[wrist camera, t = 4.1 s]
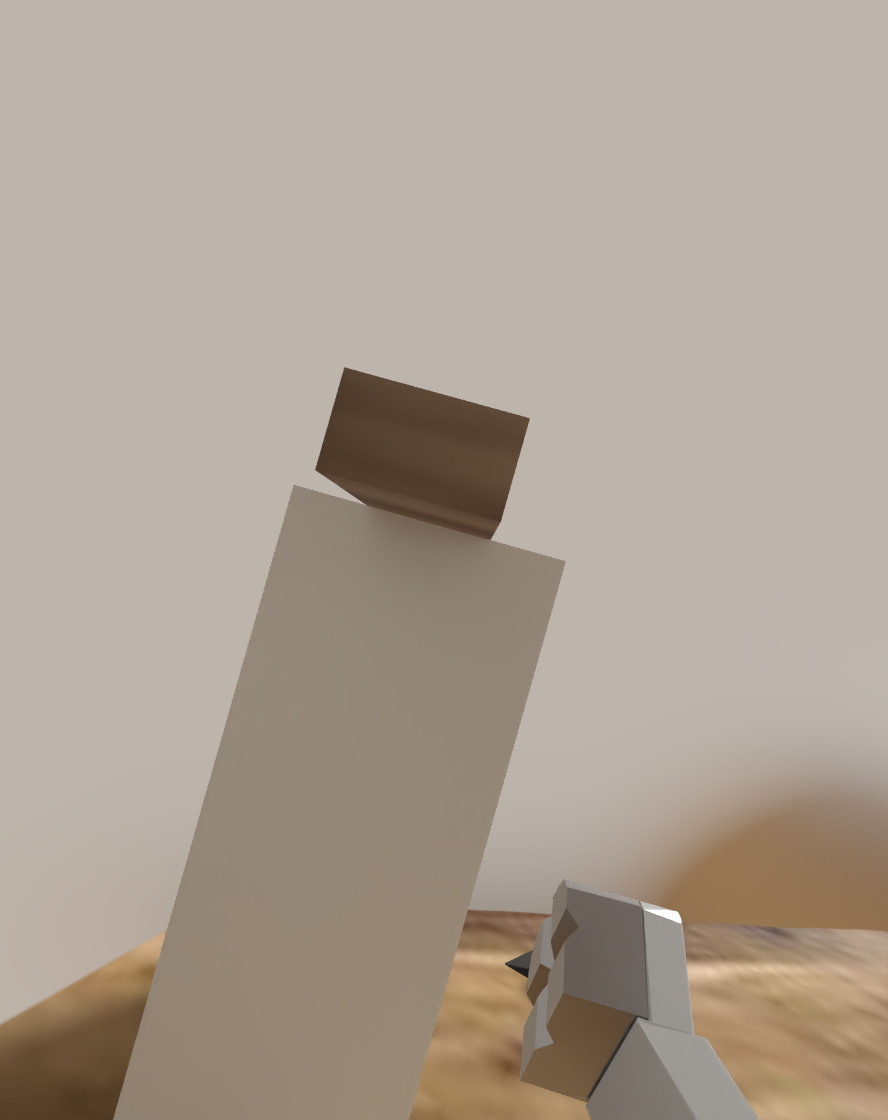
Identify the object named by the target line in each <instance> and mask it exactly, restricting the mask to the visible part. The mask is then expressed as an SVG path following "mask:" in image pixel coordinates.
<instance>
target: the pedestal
mask: <svg viewBox="0 0 888 1120" xmlns="http://www.w3.org/2000/svg"><path fill="white" fill-rule="evenodd" d="M564 566H565V561H563V560H559V559H556V558H552V557H549V556H545V555H541V554H538V553H534V552H531V551H527V550H523V549H520V548H516V547H513V546H509V545H506V544H502V543H498V542H495V541H491V540H488V539H484V538H481V537H477V536H474V535H470V534H467V533H463V532H459V531H456V530H452V529H449V528H445V527H442V526H438V525H434V524H431V523H427V522H424V521H420V520H417V519H413V518H410V517H406V516H402V515H399V514H395V513H392V512H388V511H385V510H381V509H377V508H374V507H370V506H367V505H363V504H359V503H356V502H352V501H349V500H345V499H342V498H338V497H335V496H331V495H327V494H324V493H320V492H317V491H313V490H310V489H306V488H303V487H299V486H296V485H294V486H293V489H292V492H291V496H290V500H289V503H288V507H287V510H286V514H285V517H284V521H283V524H282V528H281V531H280V535H279V539H278V542H277V545H276V549H275V552H274V556H273V559H272V563H271V567H270V570H269V573H268V577H267V580H266V584H265V587H264V591H263V594H262V598H261V602H260V605H259V609H258V612H257V615H256V619H255V623H254V626H253V630H252V633H251V637H250V640H249V644H248V647H247V651H246V654H245V658H244V661H243V665H242V668H241V672H240V675H239V679H238V682H237V686H236V690H235V693H234V696H233V700H232V704H231V707H230V710H229V714H228V718H227V721H226V724H225V728H224V732H223V735H222V738H221V742H220V746H219V749H218V753H217V756H216V760H215V763H214V767H213V770H212V774H211V778H210V781H209V784H208V788H207V791H206V795H205V798H204V802H203V806H202V809H201V812H200V816H199V820H198V823H197V827H196V830H195V833H194V837H193V841H192V844H191V847H190V851H189V854H188V858H187V861H186V865H185V869H184V872H183V876H182V879H181V883H180V886H179V890H178V893H177V897H176V900H175V904H174V907H173V911H172V914H171V918H170V922H169V925H168V928H167V932H166V935H165V939H164V942H163V946H162V949H161V953H160V956H159V960H158V963H157V967H156V970H155V974H154V977H153V981H152V985H151V988H150V992H149V995H148V999H147V1002H146V1006H145V1009H144V1013H143V1016H142V1020H141V1023H140V1027H139V1030H138V1034H137V1037H136V1041H135V1044H134V1048H133V1051H132V1055H131V1058H130V1062H129V1065H128V1069H127V1072H126V1076H125V1079H124V1083H123V1086H122V1090H121V1093H120V1097H119V1100H118V1104H117V1108H116V1111H115V1115H114V1118H113V1120H409V1117H410V1114H411V1110H412V1106H413V1103H414V1099H415V1096H416V1092H417V1089H418V1085H419V1082H420V1078H421V1074H422V1071H423V1067H424V1064H425V1060H426V1057H427V1053H428V1050H429V1046H430V1042H431V1039H432V1035H433V1032H434V1028H435V1025H436V1021H437V1018H438V1014H439V1010H440V1007H441V1003H442V1000H443V996H444V993H445V989H446V986H447V982H448V978H449V975H450V971H451V968H452V964H453V961H454V957H455V954H456V950H457V946H458V943H459V939H460V936H461V932H462V929H463V925H464V921H465V918H466V914H467V911H468V907H469V904H470V900H471V897H472V893H473V889H474V886H475V882H476V879H477V875H478V871H479V868H480V865H481V861H482V857H483V854H484V850H485V847H486V843H487V839H488V836H489V833H490V829H491V825H492V822H493V818H494V815H495V811H496V807H497V804H498V801H499V797H500V793H501V790H502V786H503V783H504V779H505V776H506V772H507V769H508V765H509V761H510V758H511V754H512V750H513V747H514V744H515V740H516V736H517V733H518V729H519V726H520V722H521V719H522V715H523V712H524V708H525V704H526V700H527V697H528V694H529V690H530V687H531V683H532V679H533V676H534V672H535V669H536V665H537V662H538V658H539V655H540V651H541V647H542V644H543V640H544V637H545V633H546V630H547V626H548V623H549V619H550V616H551V612H552V608H553V605H554V601H555V598H556V594H557V591H558V587H559V583H560V580H561V576H562V573H563V569H564Z"/></svg>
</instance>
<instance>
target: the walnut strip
mask: <svg viewBox="0 0 888 1120" xmlns="http://www.w3.org/2000/svg"><path fill="white" fill-rule="evenodd" d="M528 423H529V418H526V417H523V416H519V415H516V414H512V413H508V412H505V411H501V410H498V409H494V408H490V407H487V406H483V405H479V404H476V403H472V402H468V401H465V400H461V399H457V398H454V397H450V396H447V395H443V394H439V393H436V392H432V391H428V390H425V389H421V388H417V387H414V386H410V385H407V384H403V383H399V382H395V381H392V380H388V379H384V378H381V377H377V376H373V375H370V374H366V373H363V372H359V371H356V370H352V369H348V368H344V371H343V374H342V378H341V381H340V385H339V388H338V392H337V395H336V399H335V403H334V406H333V409H332V413H331V416H330V420H329V424H328V427H327V430H326V434H325V437H324V441H323V444H322V448H321V452H320V455H319V459H318V462H317V466H316V469H315V470H316V471H317V472H319V473H320V474H322V475H324V476H325V477H326V478H328V479H329V480H331V481H332V482H334V483H335V484H337V485H338V486H340V487H341V488H342V489H344V490H345V491H347V492H348V493H350V494H351V495H353V496H354V497H356V498H357V499H359V500H360V501H362V502H363V503H364V504H366V505H367V506H370V507H374V508H377V509H381V510H385V511H388V512H392V513H395V514H399V515H402V516H406V517H410V518H413V519H417V520H420V521H424V522H427V523H431V524H434V525H438V526H442V527H445V528H449V529H452V530H456V531H459V532H463V533H467V534H470V535H474V536H477V537H481V538H484V539H488V540H491V538H492V536H493V535H494V533H495V531H496V529H497V527H498V526H499V524H500V522H501V519H502V515H503V511H504V508H505V505H506V501H507V498H508V494H509V490H510V487H511V483H512V479H513V476H514V473H515V469H516V466H517V462H518V459H519V455H520V451H521V448H522V444H523V441H524V437H525V434H526V430H527V427H528Z"/></svg>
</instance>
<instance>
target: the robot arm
mask: <svg viewBox="0 0 888 1120" xmlns="http://www.w3.org/2000/svg"><path fill="white" fill-rule="evenodd" d="M527 995H528V997H529V999H530V1001H531V1003H532V1005H533V1009H532V1011H531V1013H530V1015H529V1017H528V1020H527V1022H526V1024H525V1026H524V1033H523V1047H522V1061H521V1075H520V1080H521V1081H524V1082H527V1083H530V1084H533V1085H536V1086H539V1087H542V1088H545V1089H548V1090H551V1091H554V1092H557V1093H560V1094H563V1095H566V1096H569V1097H572V1098H575V1099H578V1100H581V1101H584V1102H587V1104H586V1108H587V1111H588V1113H589V1116H590V1118H591V1120H759V1119H758V1117H757V1116H756V1114H755V1113H754V1111H753V1110H752V1108H751V1106H750V1105H749V1103H748V1102H747V1100H746V1099H745V1097H744V1096H743V1094H742V1093H741V1091H740V1090H739V1088H738V1086H737V1085H736V1083H735V1082H734V1080H733V1079H732V1077H731V1076H730V1074H729V1073H728V1071H727V1070H726V1068H725V1066H724V1065H723V1063H722V1062H721V1060H720V1059H719V1057H718V1056H717V1054H716V1053H715V1051H714V1049H713V1048H712V1046H711V1045H710V1043H709V1042H708V1040H707V1039H706V1038H704V1037H701V1036H698V1035H695V1034H694V1026H693V1017H692V1008H691V999H690V990H689V981H688V972H687V963H686V954H685V945H684V936H683V927H682V920H681V918H680V916H679V914H678V912H676V911H672V910H669V909H665V908H662V907H659V906H655V905H652V904H648V903H644V902H641V901H637V900H635V899H632V898H628V897H625V896H621V895H618V894H614V893H611V892H607V891H603V890H600V889H596V888H593V887H589V886H586V885H582V884H579V883H574V882H571V881H568V880H563V881H562V882H561V884H560V885H559V886H558V888H557V891H556V893H555V895H554V897H553V909H552V916H550V917H548V918H546V919H544V920H543V922H542V925H541V927H540V930H539V932H538V935H537V937H536V941H535V945H534V949H533V952H532V956H531V961H530V968H529V974H528V985H527Z"/></svg>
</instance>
